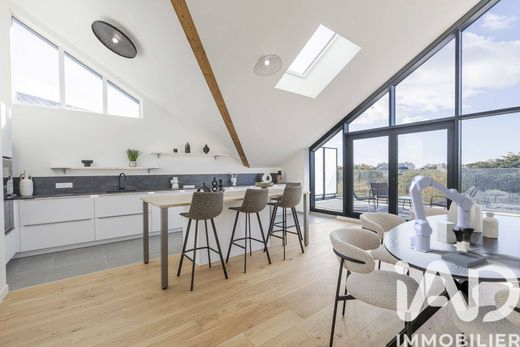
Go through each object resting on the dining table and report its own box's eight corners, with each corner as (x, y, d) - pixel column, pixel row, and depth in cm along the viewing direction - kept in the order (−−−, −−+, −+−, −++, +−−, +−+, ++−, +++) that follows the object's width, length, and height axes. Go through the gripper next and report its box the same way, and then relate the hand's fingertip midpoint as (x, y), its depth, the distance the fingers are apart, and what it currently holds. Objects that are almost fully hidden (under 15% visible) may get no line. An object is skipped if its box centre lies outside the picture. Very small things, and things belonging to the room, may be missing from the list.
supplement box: (456, 242, 161) (456, 223, 161) (446, 243, 160) (446, 223, 159) (445, 239, 168) (446, 220, 168) (436, 239, 167) (436, 221, 167)
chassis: (441, 259, 133) (441, 254, 133) (460, 254, 140) (460, 250, 140) (467, 267, 122) (467, 263, 122) (486, 262, 129) (486, 257, 129)
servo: (452, 249, 148) (452, 239, 148) (455, 249, 149) (455, 238, 149) (470, 254, 140) (470, 243, 139) (473, 254, 141) (473, 243, 141)
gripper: (464, 220, 137) (463, 244, 138) (479, 217, 143) (478, 241, 143) (450, 217, 143) (449, 241, 144) (465, 215, 149) (464, 238, 150)
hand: (463, 241), depth 144 cm, fingers open, 7 cm apart
